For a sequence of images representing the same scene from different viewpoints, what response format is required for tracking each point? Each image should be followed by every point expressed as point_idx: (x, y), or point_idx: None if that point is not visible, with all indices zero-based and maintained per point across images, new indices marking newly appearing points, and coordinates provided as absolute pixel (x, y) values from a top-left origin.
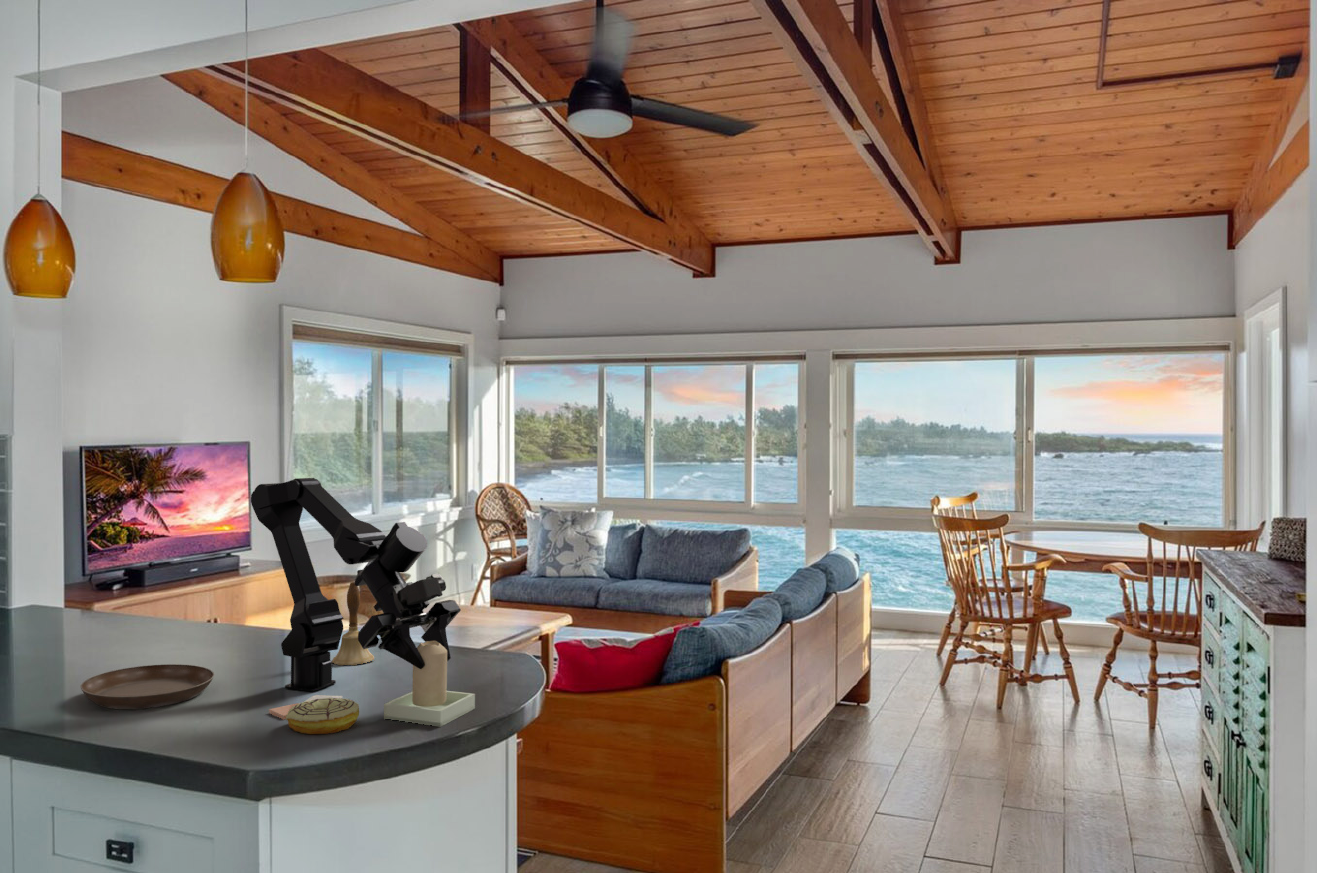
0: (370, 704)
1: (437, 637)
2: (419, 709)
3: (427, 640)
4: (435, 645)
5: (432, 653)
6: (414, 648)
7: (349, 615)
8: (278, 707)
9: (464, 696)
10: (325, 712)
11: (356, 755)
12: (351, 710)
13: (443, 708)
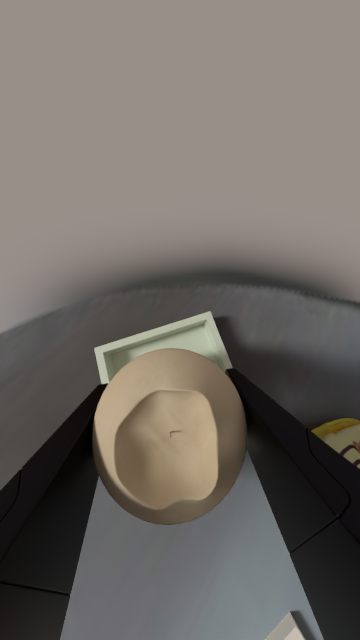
0: (209, 556)
1: (43, 535)
2: (226, 352)
3: (51, 634)
4: (174, 385)
5: (206, 361)
6: (286, 423)
7: None
8: None
9: (107, 364)
10: None
11: (351, 310)
12: (342, 435)
13: (197, 318)
